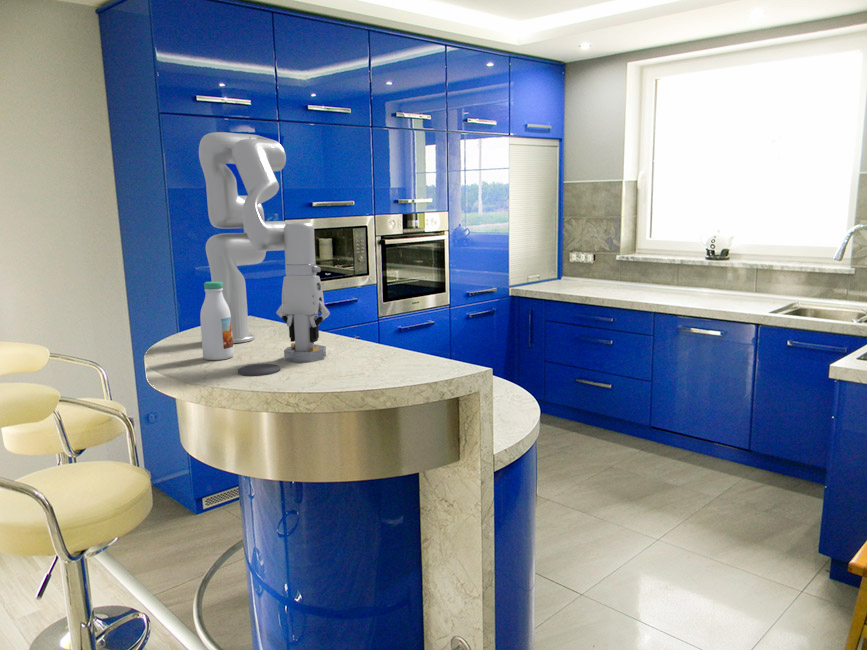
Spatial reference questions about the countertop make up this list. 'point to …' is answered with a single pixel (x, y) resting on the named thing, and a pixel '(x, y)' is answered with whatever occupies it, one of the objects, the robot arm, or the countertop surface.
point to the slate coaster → (258, 369)
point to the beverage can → (302, 332)
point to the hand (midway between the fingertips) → (304, 340)
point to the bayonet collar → (305, 354)
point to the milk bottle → (216, 324)
